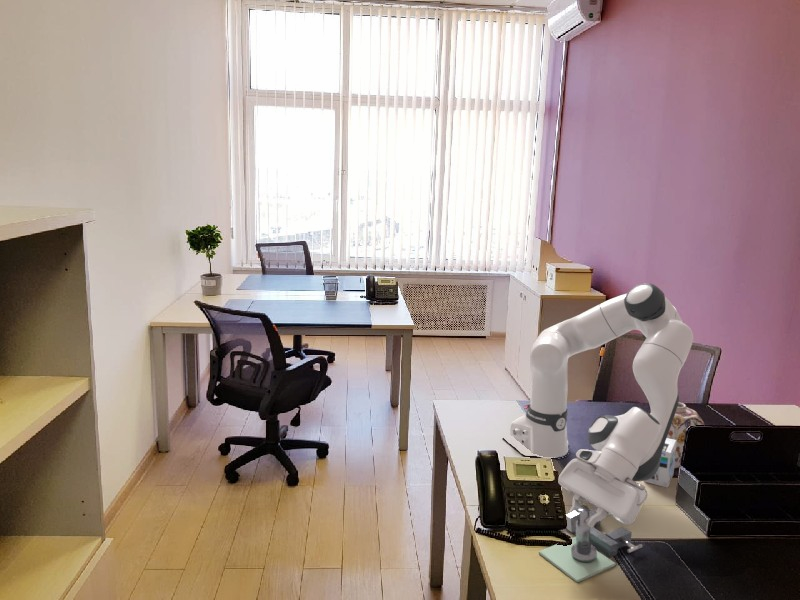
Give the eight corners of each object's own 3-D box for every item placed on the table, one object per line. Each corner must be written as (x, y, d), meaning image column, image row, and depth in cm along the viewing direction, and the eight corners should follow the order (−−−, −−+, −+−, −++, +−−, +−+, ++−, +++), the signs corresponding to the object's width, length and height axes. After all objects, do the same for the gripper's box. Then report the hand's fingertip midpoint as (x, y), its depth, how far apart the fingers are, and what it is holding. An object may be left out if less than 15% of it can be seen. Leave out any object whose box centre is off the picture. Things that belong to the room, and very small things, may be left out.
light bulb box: (668, 488, 174) (671, 453, 172) (642, 482, 178) (646, 447, 175) (674, 473, 183) (677, 439, 181) (650, 467, 186) (653, 434, 184)
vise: (563, 526, 155) (563, 515, 155) (588, 516, 160) (588, 506, 159) (618, 563, 141) (619, 551, 140) (644, 551, 145) (645, 540, 144)
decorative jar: (701, 463, 189) (707, 408, 185) (672, 470, 185) (678, 413, 181) (670, 447, 200) (676, 395, 196) (642, 453, 195) (648, 400, 192)
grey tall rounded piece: (562, 555, 143) (559, 510, 140) (583, 543, 146) (582, 499, 143) (579, 568, 138) (577, 522, 135) (602, 556, 141) (600, 510, 138)
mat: (538, 553, 144) (538, 551, 144) (575, 538, 150) (575, 536, 150) (577, 582, 134) (577, 580, 134) (615, 565, 140) (615, 563, 140)
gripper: (657, 496, 135) (623, 550, 132) (585, 459, 152) (554, 506, 149) (645, 482, 132) (610, 537, 129) (573, 446, 149) (541, 494, 146)
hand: (579, 520), depth 139 cm, fingers closed on grey tall rounded piece, 3 cm apart
